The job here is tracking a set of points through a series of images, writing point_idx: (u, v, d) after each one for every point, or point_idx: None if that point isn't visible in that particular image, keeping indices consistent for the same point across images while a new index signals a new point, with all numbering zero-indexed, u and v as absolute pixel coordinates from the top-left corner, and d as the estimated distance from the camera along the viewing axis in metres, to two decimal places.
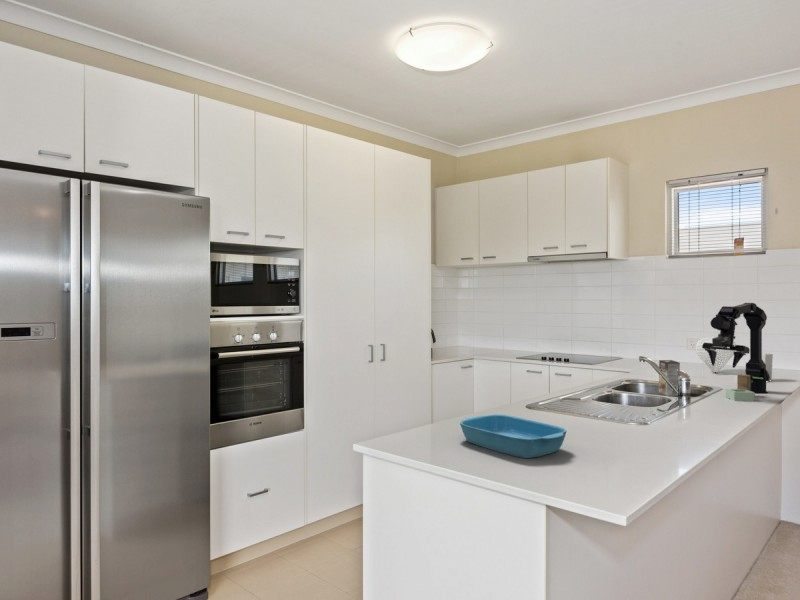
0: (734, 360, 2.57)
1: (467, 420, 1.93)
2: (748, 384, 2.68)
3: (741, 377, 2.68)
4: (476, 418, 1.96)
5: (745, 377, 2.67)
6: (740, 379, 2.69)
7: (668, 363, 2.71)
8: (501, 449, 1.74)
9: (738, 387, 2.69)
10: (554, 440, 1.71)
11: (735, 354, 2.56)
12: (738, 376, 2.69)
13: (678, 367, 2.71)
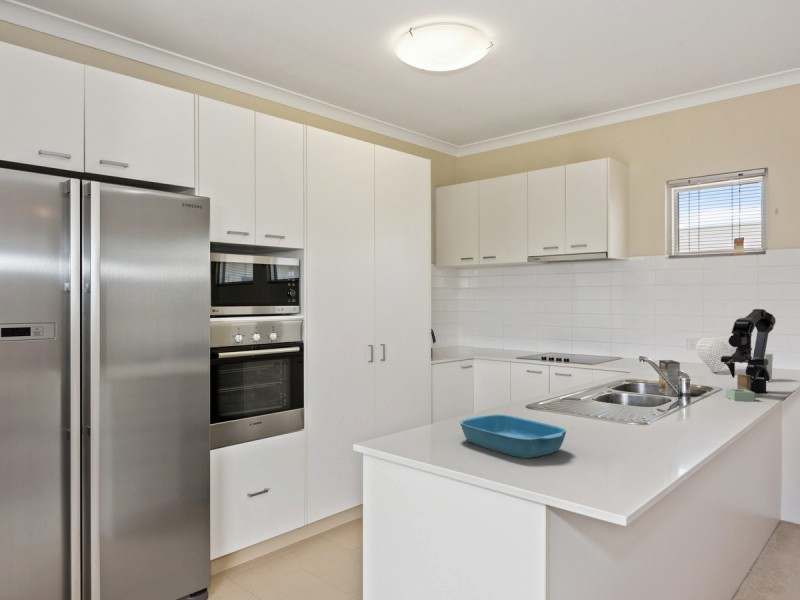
0: (755, 373, 2.65)
1: (468, 420, 1.94)
2: (748, 384, 2.68)
3: (741, 377, 2.68)
4: (477, 418, 1.96)
5: (745, 377, 2.67)
6: (740, 379, 2.69)
7: (668, 363, 2.71)
8: (500, 449, 1.74)
9: (738, 387, 2.69)
10: (553, 440, 1.71)
11: (755, 368, 2.64)
12: (738, 376, 2.69)
13: (678, 367, 2.71)
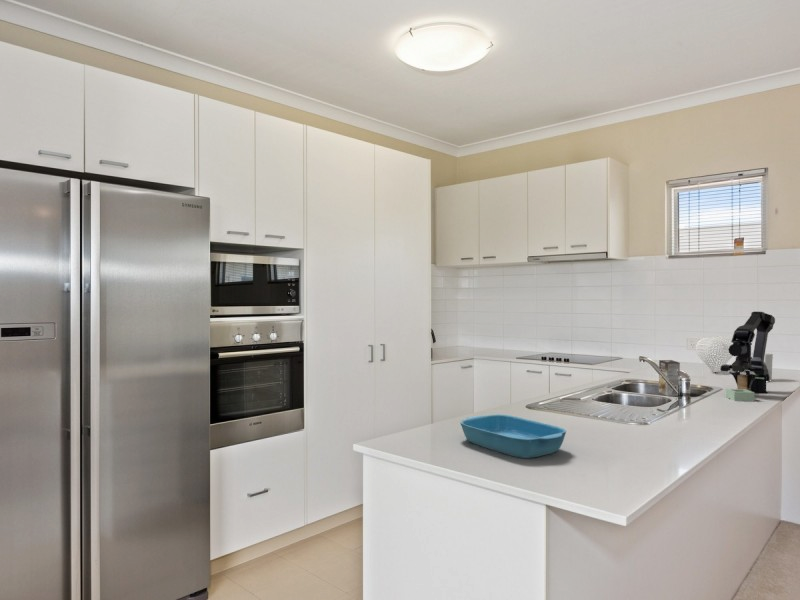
0: (749, 382, 2.67)
1: (468, 420, 1.94)
2: None
3: (741, 377, 2.68)
4: (477, 418, 1.96)
5: (745, 377, 2.67)
6: (740, 379, 2.69)
7: (668, 363, 2.71)
8: (500, 449, 1.74)
9: (738, 387, 2.69)
10: (553, 440, 1.71)
11: (749, 376, 2.66)
12: (738, 376, 2.69)
13: (678, 367, 2.71)
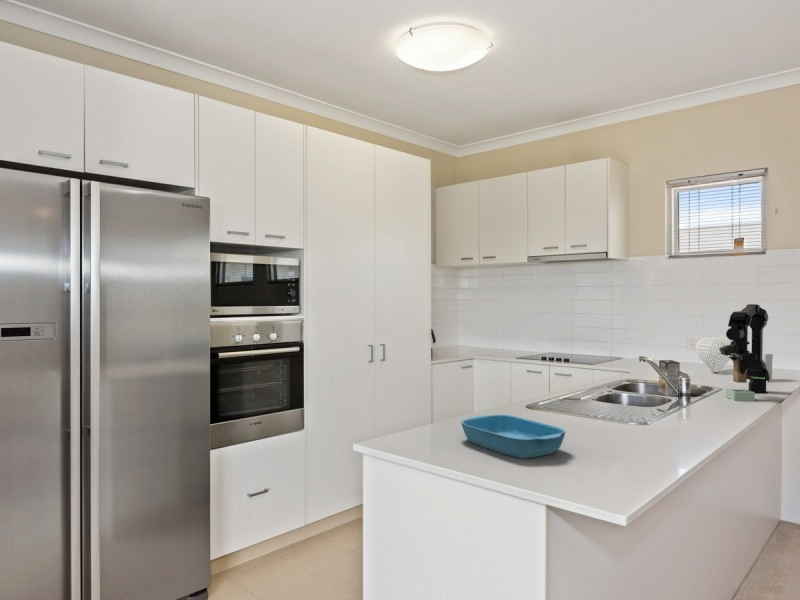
0: (740, 367, 2.59)
1: (469, 419, 1.94)
2: None
3: (735, 362, 2.62)
4: (479, 418, 1.97)
5: (737, 362, 2.60)
6: (734, 364, 2.62)
7: (668, 363, 2.71)
8: (498, 449, 1.74)
9: (733, 372, 2.63)
10: (551, 441, 1.70)
11: (739, 361, 2.58)
12: (733, 361, 2.63)
13: (678, 367, 2.71)
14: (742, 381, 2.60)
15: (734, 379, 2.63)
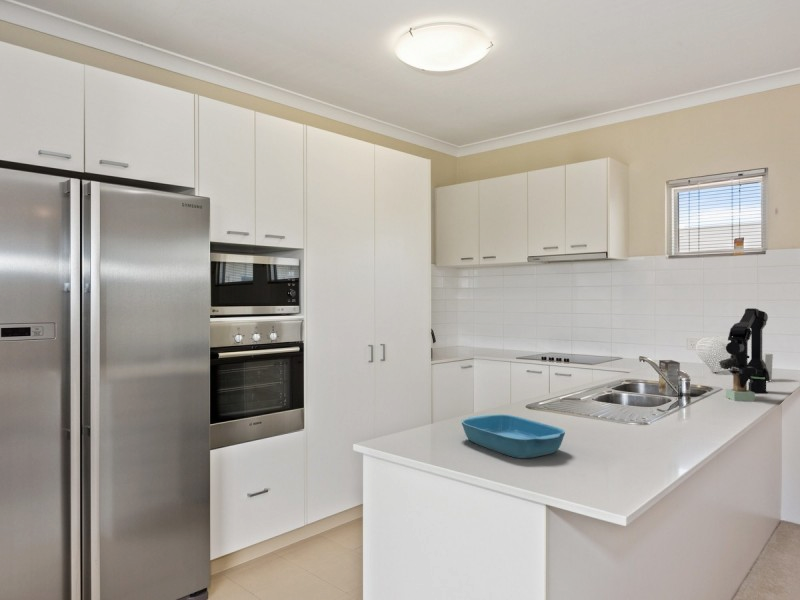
0: (740, 381, 2.59)
1: (470, 419, 1.95)
2: None
3: (735, 375, 2.62)
4: (480, 417, 1.97)
5: (736, 375, 2.60)
6: (734, 377, 2.62)
7: (668, 363, 2.71)
8: (497, 448, 1.74)
9: (733, 385, 2.63)
10: (550, 441, 1.70)
11: None
12: (733, 374, 2.63)
13: (678, 367, 2.71)
14: None
15: None
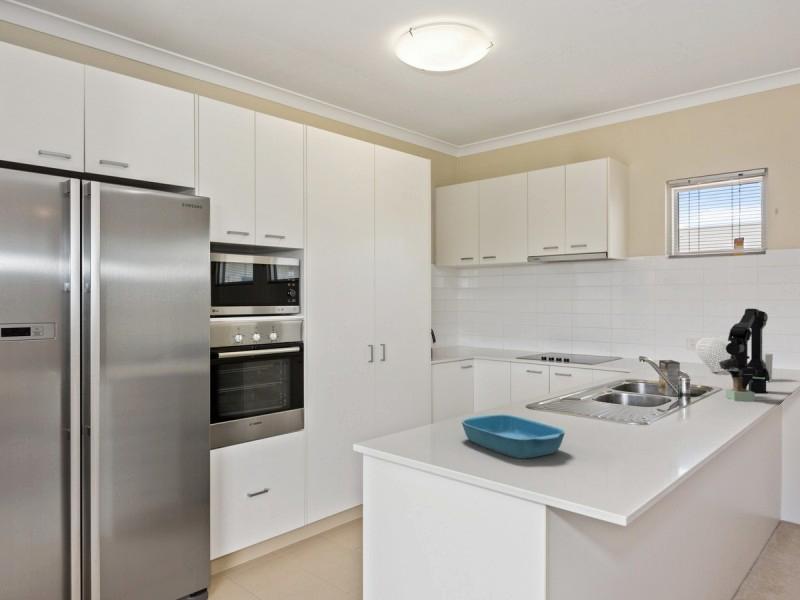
0: (742, 382, 2.57)
1: (470, 419, 1.95)
2: None
3: (735, 379, 2.62)
4: (480, 417, 1.97)
5: (736, 379, 2.60)
6: (734, 381, 2.62)
7: (668, 363, 2.71)
8: (496, 449, 1.75)
9: (733, 389, 2.63)
10: (549, 441, 1.70)
11: (740, 376, 2.57)
12: (733, 378, 2.63)
13: (678, 367, 2.71)
14: None
15: None
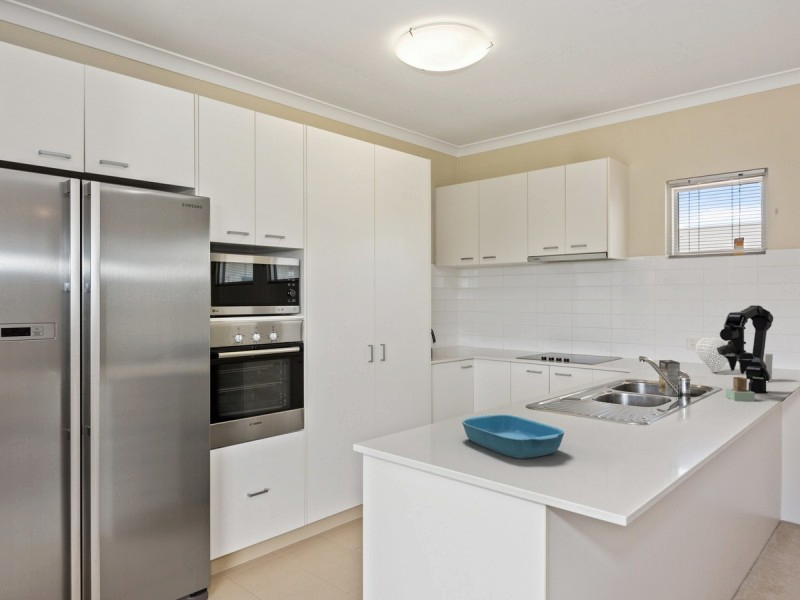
0: (740, 367, 2.63)
1: (471, 419, 1.95)
2: (742, 387, 2.60)
3: (735, 379, 2.62)
4: (481, 417, 1.97)
5: (736, 379, 2.60)
6: (734, 381, 2.62)
7: (668, 363, 2.71)
8: (495, 448, 1.75)
9: (733, 389, 2.63)
10: (548, 442, 1.70)
11: (738, 361, 2.63)
12: (733, 378, 2.63)
13: (678, 367, 2.71)
14: None
15: None
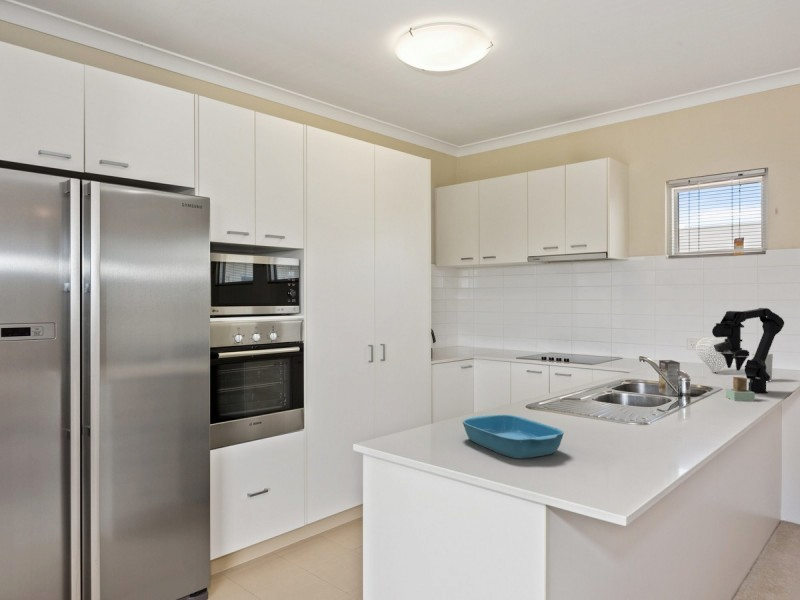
0: (736, 364, 2.70)
1: (472, 419, 1.95)
2: (742, 387, 2.60)
3: (735, 379, 2.62)
4: (482, 417, 1.97)
5: (736, 379, 2.60)
6: (734, 381, 2.62)
7: (668, 363, 2.71)
8: (494, 448, 1.75)
9: (733, 389, 2.63)
10: (547, 442, 1.69)
11: (734, 358, 2.70)
12: (733, 378, 2.63)
13: (678, 367, 2.71)
14: None
15: None
